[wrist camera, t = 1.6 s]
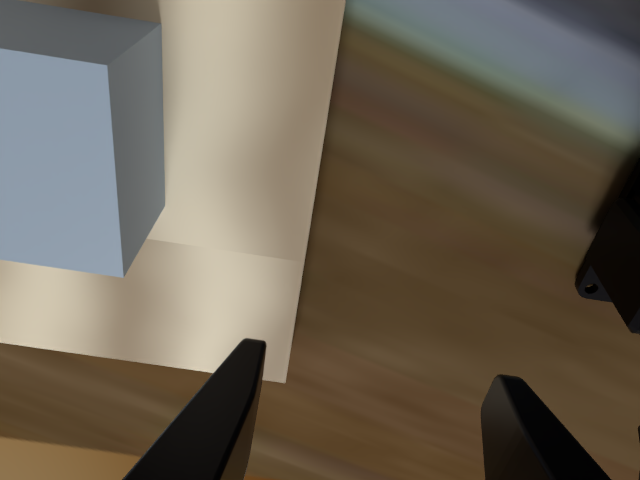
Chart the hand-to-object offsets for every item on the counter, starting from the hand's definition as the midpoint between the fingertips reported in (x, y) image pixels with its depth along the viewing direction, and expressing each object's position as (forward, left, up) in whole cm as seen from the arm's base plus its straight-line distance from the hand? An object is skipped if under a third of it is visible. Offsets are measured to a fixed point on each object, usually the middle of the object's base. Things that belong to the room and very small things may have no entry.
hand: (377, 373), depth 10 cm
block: (+9, 0, -9) cm, 13 cm away
